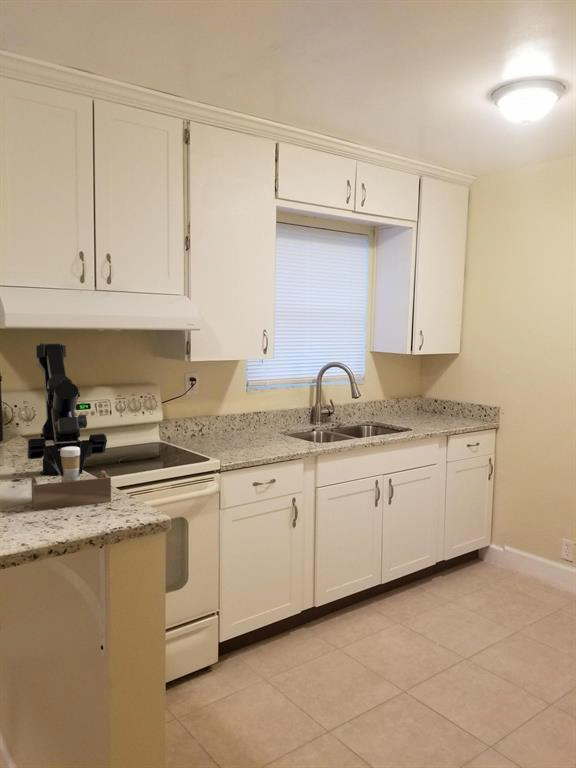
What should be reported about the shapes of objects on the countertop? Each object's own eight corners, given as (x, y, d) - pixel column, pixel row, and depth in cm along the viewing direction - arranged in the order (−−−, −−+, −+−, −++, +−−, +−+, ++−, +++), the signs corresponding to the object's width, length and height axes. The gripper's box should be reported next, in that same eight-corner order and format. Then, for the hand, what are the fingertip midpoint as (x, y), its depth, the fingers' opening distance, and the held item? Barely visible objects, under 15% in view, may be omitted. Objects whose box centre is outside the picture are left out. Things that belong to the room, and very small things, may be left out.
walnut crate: (31, 501, 148) (31, 477, 147) (104, 493, 156) (104, 470, 155) (34, 510, 141) (34, 485, 140) (111, 501, 149) (110, 477, 148)
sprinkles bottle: (64, 498, 151) (63, 445, 150) (82, 497, 151) (81, 445, 150) (59, 503, 146) (58, 449, 145) (78, 503, 147) (77, 449, 146)
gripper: (26, 406, 146) (31, 459, 137) (105, 402, 155) (114, 452, 146) (25, 432, 154) (29, 484, 145) (99, 427, 162) (108, 476, 153)
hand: (71, 474), depth 147 cm, fingers closed on sprinkles bottle, 4 cm apart
